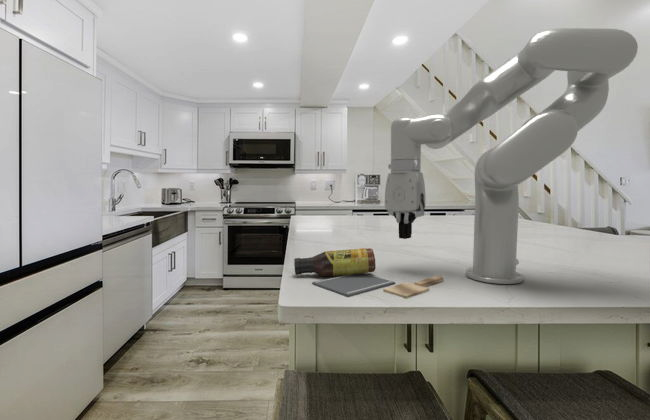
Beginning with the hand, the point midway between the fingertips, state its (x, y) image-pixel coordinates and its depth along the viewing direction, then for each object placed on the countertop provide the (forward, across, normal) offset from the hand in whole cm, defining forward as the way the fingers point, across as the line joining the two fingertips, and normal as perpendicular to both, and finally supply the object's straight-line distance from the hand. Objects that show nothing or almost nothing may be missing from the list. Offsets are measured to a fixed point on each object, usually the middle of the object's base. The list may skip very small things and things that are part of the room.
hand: (405, 237), depth 91 cm
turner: (+9, +11, -10) cm, 17 cm away
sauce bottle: (+5, -3, -9) cm, 11 cm away
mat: (+9, 0, -18) cm, 20 cm away
